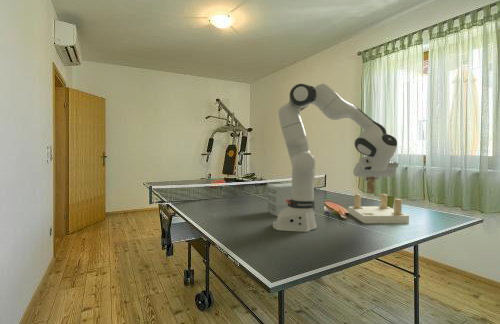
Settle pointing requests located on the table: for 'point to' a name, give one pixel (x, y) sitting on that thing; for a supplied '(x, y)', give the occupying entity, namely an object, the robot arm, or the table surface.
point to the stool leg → (370, 185)
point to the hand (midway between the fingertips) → (370, 179)
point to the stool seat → (378, 211)
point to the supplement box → (278, 197)
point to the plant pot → (390, 201)
